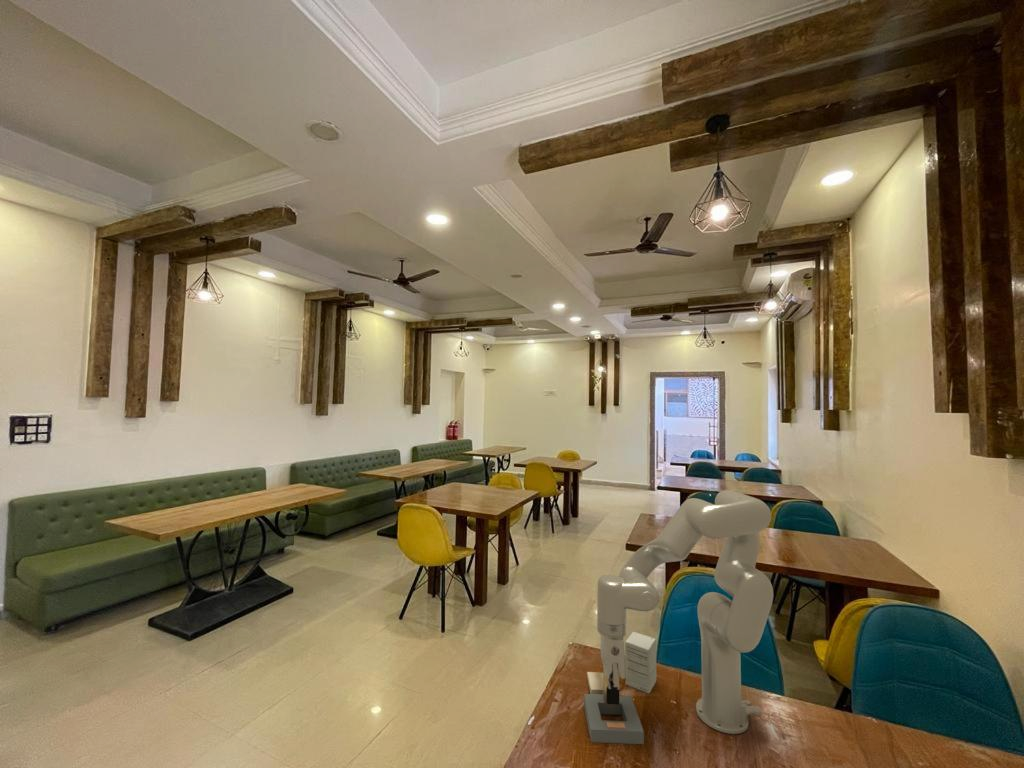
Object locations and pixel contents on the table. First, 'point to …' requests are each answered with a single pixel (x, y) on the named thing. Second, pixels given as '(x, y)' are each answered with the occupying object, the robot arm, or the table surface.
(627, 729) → the hole plate
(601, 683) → the beige square plate
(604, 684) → the brass peg
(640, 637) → the supplement box
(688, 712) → the table surface
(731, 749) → the table surface
